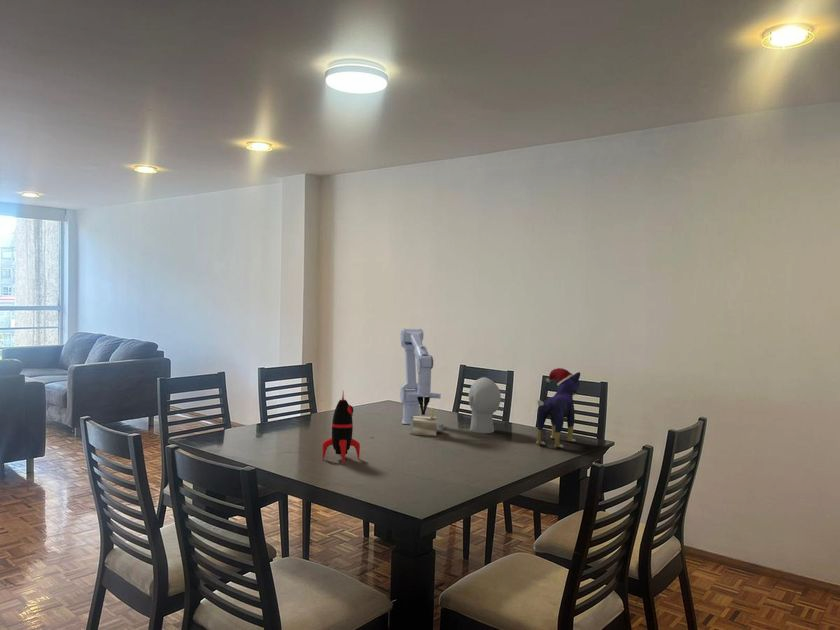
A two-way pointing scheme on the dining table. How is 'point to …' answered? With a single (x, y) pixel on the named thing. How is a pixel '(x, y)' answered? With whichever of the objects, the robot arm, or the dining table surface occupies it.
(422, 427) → the block
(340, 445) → the toy rocket
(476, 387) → the head
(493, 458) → the dining table surface
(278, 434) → the dining table surface
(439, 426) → the silver metal piece
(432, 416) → the keeper flap
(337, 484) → the dining table surface
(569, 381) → the toy
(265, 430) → the dining table surface
